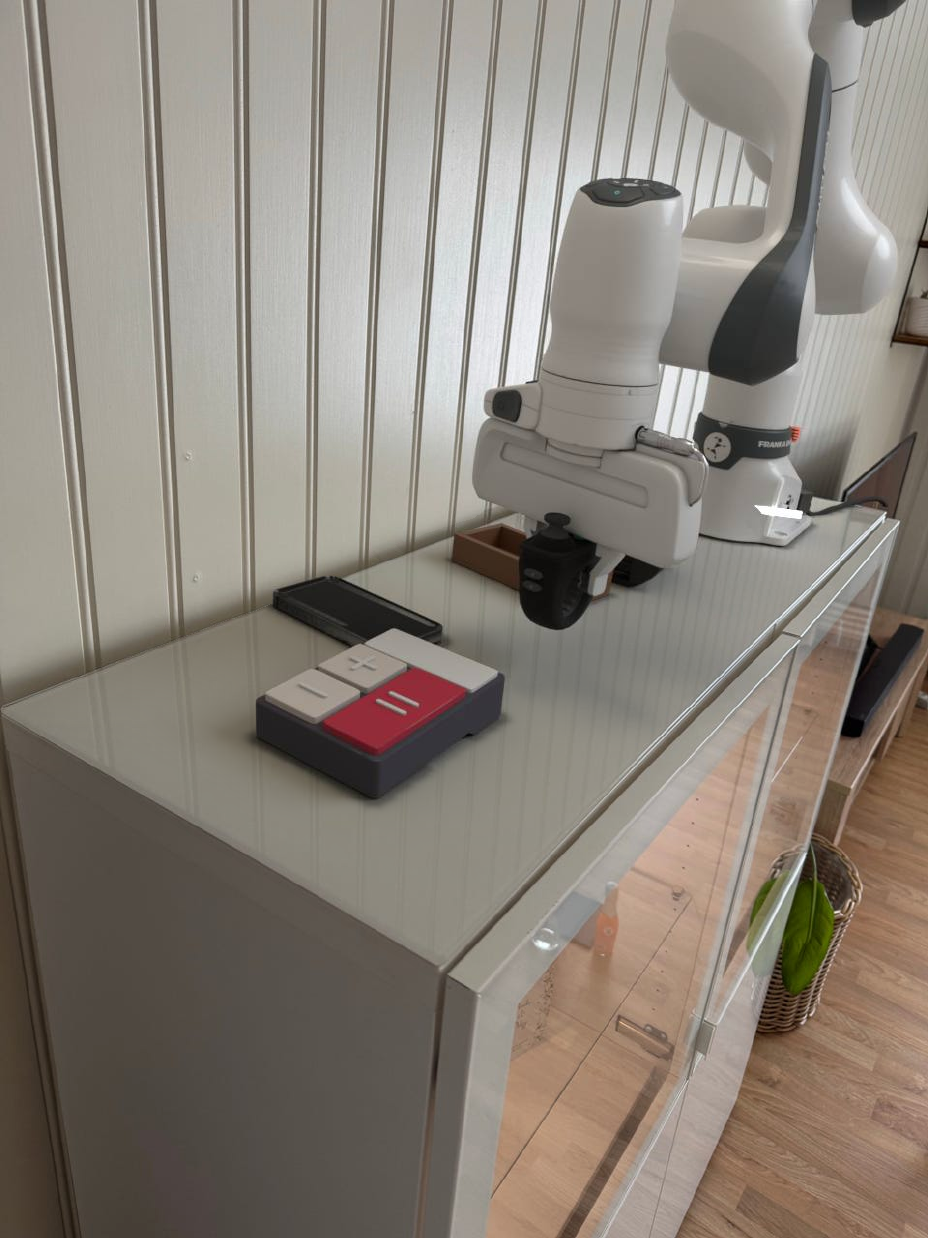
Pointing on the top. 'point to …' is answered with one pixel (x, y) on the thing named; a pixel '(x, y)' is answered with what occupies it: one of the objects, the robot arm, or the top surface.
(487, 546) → the holder
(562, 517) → the controller
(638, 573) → the end cap
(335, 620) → the phone
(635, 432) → the robot arm
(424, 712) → the calculator
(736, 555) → the top surface
